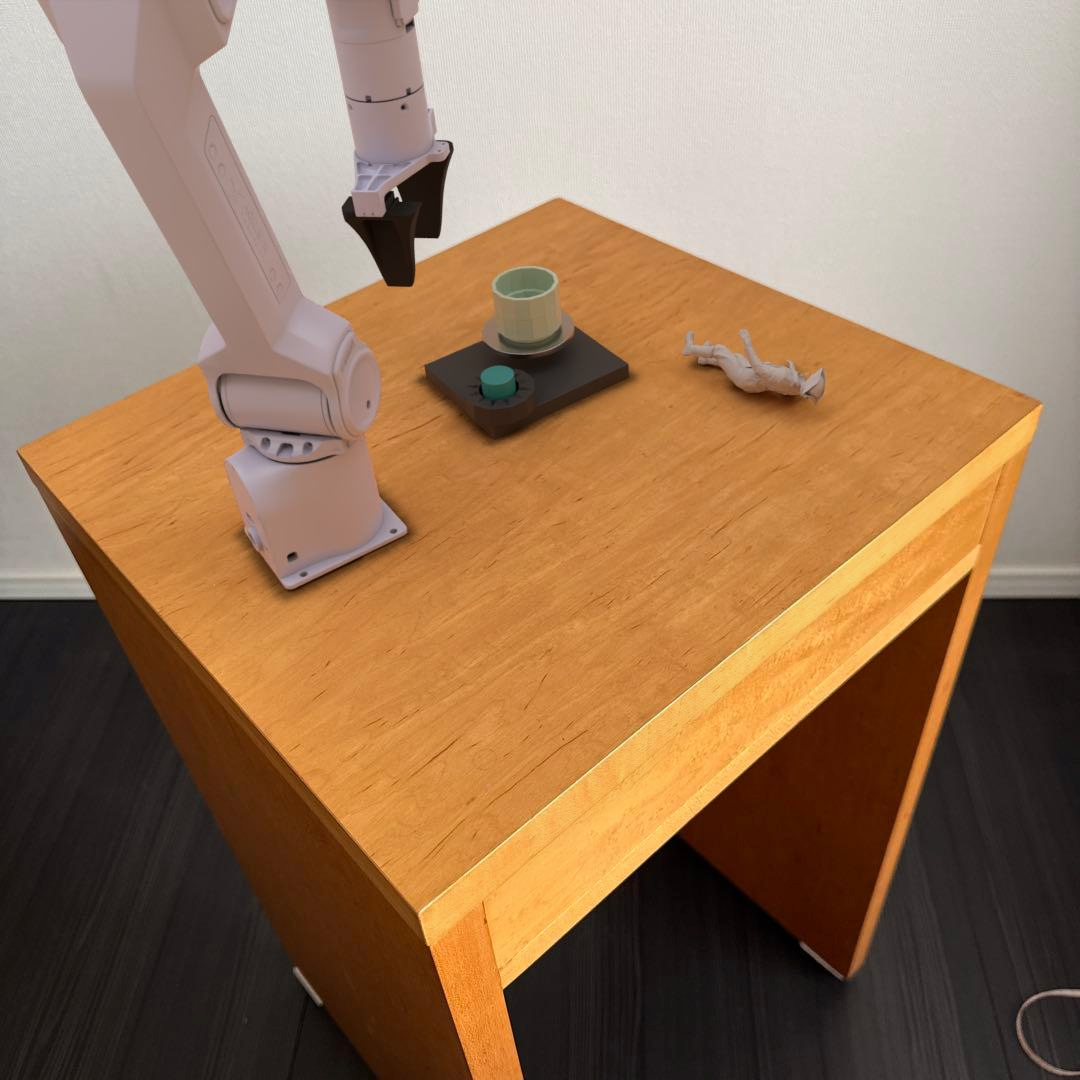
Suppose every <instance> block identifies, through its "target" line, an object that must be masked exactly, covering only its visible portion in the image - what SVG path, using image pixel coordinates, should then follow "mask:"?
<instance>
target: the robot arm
mask: <svg viewBox="0 0 1080 1080" xmlns="http://www.w3.org/2000/svg"><path fill="white" fill-rule="evenodd" d="M37 2H38V4H39V6H40V8H41V9H42V11H43V14H44V15H45V16H46V18H47V20H48V22H49V23H50V26H51V27H52V29H53V30H54V32H55V35H56V36H57V38H58V39H59V41H60V42H61V44H62V45H63V47H64V50H65V53H66V55H67V56H66V57H67V59H68V62H69V64H70V67H71V70H72V73H73V76H74V79H75V81H76V83H77V86H78V88H79V90H80V92H81V95H82V96H83V98H84V100H85V102H86V105H87V106H88V108H89V109H90V111H91V113H92V115H93V116H94V118H95V119H96V121H97V123H98V125H99V126H100V128H101V130H102V132H103V133H104V136H105V137H106V139H107V141H108V143H109V144H110V145H111V148H112V149H113V151H114V153H115V154H116V156H117V157H118V159H119V161H120V163H121V165H122V166H123V169H124V170H125V172H126V173H127V175H128V176H129V178H130V180H131V182H132V184H133V186H134V187H135V189H136V190H137V192H138V194H139V196H140V198H141V199H142V201H143V203H144V204H145V206H146V208H147V210H148V211H149V213H150V215H151V217H152V219H153V220H154V222H155V224H156V225H157V228H158V229H159V230H160V232H161V234H162V236H163V238H164V239H165V241H166V243H167V244H168V246H169V248H170V250H171V252H172V253H173V255H174V257H175V258H176V260H177V262H178V263H179V265H180V267H181V269H182V271H183V272H184V274H185V276H186V278H187V279H188V281H189V283H190V284H191V286H192V289H193V290H194V291H195V293H196V296H197V297H198V299H199V300H200V303H202V305H203V307H204V309H205V310H206V312H207V314H208V316H209V317H210V319H211V323H210V325H209V326H208V328H207V329H206V332H205V333H204V336H203V338H202V341H201V344H200V348H199V353H198V356H197V361H196V363H197V366H198V368H199V369H200V370H201V372H202V374H203V376H204V378H205V381H206V384H207V392H208V398H209V402H210V404H211V407H212V408H213V411H214V413H215V415H216V417H217V418H218V420H219V421H220V422H221V423H222V425H224V426H226V427H227V428H230V429H239V432H240V435H241V439H242V442H243V443H244V444H245V445H244V446H243V447H241V448H240V449H238V450H237V451H236V452H234V453H233V454H231V455H229V456H227V457H226V458H225V459H224V460H223V465H224V470H225V473H226V477H227V479H228V482H229V485H230V488H231V491H232V494H233V497H234V500H235V502H236V505H237V509H238V511H239V513H240V517H241V520H242V522H243V525H244V528H243V529H244V532H245V535H246V536H247V538H248V540H250V543H251V544H252V546H253V548H254V549H255V550H256V552H258V553H259V554H260V555H261V557H262V558H263V559H264V561H265V562H266V564H267V565H268V566H269V568H270V570H271V571H272V572H273V573H274V575H275V577H277V579H278V580H279V582H280V583H281V584H282V586H283V587H284V588H285V589H286V590H295V589H296V588H298V587H301V586H303V585H305V584H306V583H309V582H310V581H312V580H315V579H318V578H319V577H321V576H323V575H325V574H327V573H330V572H332V571H334V570H335V569H337V568H340V567H341V566H344V565H346V564H348V563H350V562H352V561H354V560H356V559H358V558H360V557H362V556H365V555H367V554H369V553H371V552H373V551H375V550H377V549H379V548H382V547H383V546H385V545H388V544H389V543H391V542H393V541H395V540H398V539H400V538H402V537H404V536H405V535H406V534H408V527H407V525H406V524H405V523H404V522H403V520H402V519H401V518H400V517H399V516H398V515H397V514H396V513H395V512H394V511H393V510H392V508H391V507H390V506H389V505H388V504H387V503H386V502H385V501H384V500H383V499H382V498H381V496H380V493H379V488H378V484H377V480H376V475H375V471H374V467H373V462H372V458H371V454H370V450H369V445H368V442H367V437H366V433H367V432H368V431H369V430H370V428H371V427H372V425H373V424H374V423H375V421H376V417H377V415H378V411H379V407H380V402H381V398H382V397H381V395H382V376H381V371H380V365H379V363H378V361H377V358H376V356H375V355H374V353H373V351H372V350H371V348H370V347H369V345H367V344H366V343H365V342H364V341H361V340H360V339H359V338H358V336H357V335H356V333H355V330H354V329H353V326H352V323H351V322H350V321H349V320H347V319H346V318H344V317H342V316H341V315H338V314H337V313H335V312H333V311H332V310H329V309H328V308H326V307H324V306H322V305H320V304H319V303H317V302H314V301H313V300H311V299H309V298H308V297H306V296H305V295H304V294H303V292H302V290H301V287H300V286H299V283H298V281H297V279H296V276H295V275H294V273H293V271H292V269H291V267H290V264H289V262H288V260H287V258H286V255H285V253H284V251H283V249H282V247H281V245H280V242H279V240H278V238H277V236H276V233H275V232H274V230H273V228H272V226H271V224H270V221H269V219H268V216H267V215H266V213H265V210H264V208H263V206H262V204H261V203H260V200H259V198H258V195H257V193H256V191H255V188H254V187H253V185H252V183H251V181H250V178H249V177H248V174H247V172H246V170H245V167H244V166H243V163H242V161H241V159H240V157H239V154H238V153H237V150H236V148H235V146H234V144H233V142H232V140H231V138H230V136H229V134H228V133H229V132H227V128H226V126H225V125H224V122H223V120H222V118H221V116H220V114H219V111H218V110H217V107H216V105H215V103H214V101H213V99H212V97H211V95H210V92H209V90H208V88H207V86H206V84H205V82H204V79H203V78H202V75H201V71H200V67H201V64H203V63H204V62H206V61H207V60H209V59H210V58H211V57H212V56H215V54H217V53H218V52H220V51H221V50H223V49H224V48H225V47H226V46H227V45H228V42H229V39H230V38H229V37H230V34H231V29H232V25H233V21H234V17H235V16H234V15H235V12H236V7H237V3H238V0H37ZM419 2H420V0H325V5H326V10H327V14H328V19H329V24H330V31H331V35H332V38H333V44H334V50H335V55H336V59H337V64H338V68H339V74H340V79H341V84H342V88H343V95H344V99H345V105H346V109H347V114H348V119H349V124H350V129H351V134H352V140H353V144H354V150H353V164H354V165H353V166H354V181H355V182H354V186H353V187H352V189H351V191H350V195H349V196H347V198H346V200H345V201H344V202H343V204H342V206H341V213H342V217H343V220H344V222H345V223H346V224H347V225H348V226H350V228H351V229H352V230H353V231H354V232H355V233H356V234H357V235H358V236H359V238H360V239H361V240H362V243H364V245H365V246H366V248H367V249H368V251H369V253H370V255H371V257H372V258H373V261H374V262H375V265H376V267H377V269H378V271H379V272H380V275H381V277H382V279H383V281H384V282H385V284H386V286H387V287H392V288H393V287H396V288H412V287H413V285H414V283H415V281H416V250H415V239H435V240H436V239H437V240H438V239H439V238H440V236H441V232H442V224H443V208H444V194H445V186H446V180H447V179H446V178H447V173H448V170H449V167H450V163H451V160H452V157H453V154H454V151H455V149H454V142H452V141H450V140H448V139H436V136H435V135H436V134H437V132H438V130H437V123H436V117H435V110H434V108H433V107H428V102H427V96H426V88H425V81H424V76H423V69H422V61H421V56H420V49H419V42H418V35H417V29H416V23H415V21H416V20H415V15H417V14H418V13H419ZM394 188H396V189H397V192H398V194H399V196H400V197H399V196H395V191H394V190H393V189H394ZM400 199H401V201H400Z"/></svg>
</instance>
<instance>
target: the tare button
mask: <svg viewBox="0 0 1080 1080" xmlns="http://www.w3.org/2000/svg"><path fill="white" fill-rule="evenodd" d="M481 384H482V391H483V395H484V397H485V398H487V399H491V400H499V399H506V398H508V397H511V396H513V395H514V394H515V392H516V385H515V377H514V372H513V370H512V369H511V368H509V367H506V366H493V367H490V368H487V369H486V370H484V371H483V372H482V374H481Z"/></svg>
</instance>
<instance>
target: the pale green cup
mask: <svg viewBox="0 0 1080 1080" xmlns="http://www.w3.org/2000/svg"><path fill="white" fill-rule="evenodd" d="M490 286H491V293H492V294H491V295H492V302H493V308H494V315H495V318H496V325H497V330H498V332H499V333H500V334H502V335H503V336H504V337H506V338H507V339H509V340H511V341H513V342H518V343H534V342H539V341H542V340H545V339H547V338H549V337H550V336H552V335H553V334H554V333H555V331H557V330H558V328H559V327H560V325H561V323H562V316H561V310H562V305H561V294H560V291H561V290H560V282H559V277H558V275H557V273H555V272H554V271H552V270H551V269H549V268H546V267H542V266H537V265H522V266H517V267H513V268H509V269H506V270H505V271H503V272H500V273H499V274H498V275H496V276H495V277H494V279H493V280H492V282H491V284H490Z"/></svg>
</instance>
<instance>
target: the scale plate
mask: <svg viewBox="0 0 1080 1080" xmlns="http://www.w3.org/2000/svg"><path fill="white" fill-rule="evenodd" d="M561 316H562V323H561V325H560V327H559V328H558V330H557V331H555V333H554V334H553V335H552V336H550V337H549V338H547V339H545V340H542V341H539V342H534V343H518V342H513V341H511V340H509V339H507V338H506V337H504V336H503V335H502V334H500V333H499V332H498V330H497V325H496V318H495V314H494V315H492V316H491V317H490V318H489V319H488V320H487V321H486V322H485V323H484V325H483V327H482V330H481V338H482V340H483V342H484V344H485V346H486V347H487V348H488V349H489V350H490V351H492V352H493V353H495V354H497V355H500V356H502V357H506V358H512V359H532V358H539V357H543V356H546V355H550V354H552V353H555V352H557V351H559V350H560V349H562V348H563V347H565V346H566V345H567V344H568V343H569V342H570V341H571V339H572V338H573V335H574V326H575V323H574V320H573V318H572V316H571V315H570V314H569V313H567V312H566V311H565V310H563V309H561Z"/></svg>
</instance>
